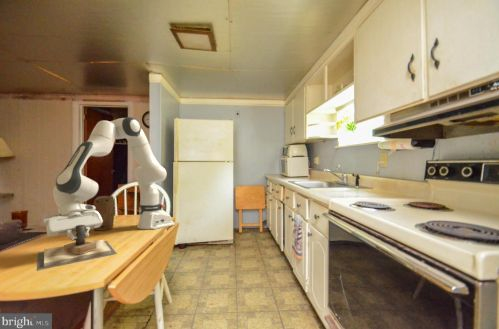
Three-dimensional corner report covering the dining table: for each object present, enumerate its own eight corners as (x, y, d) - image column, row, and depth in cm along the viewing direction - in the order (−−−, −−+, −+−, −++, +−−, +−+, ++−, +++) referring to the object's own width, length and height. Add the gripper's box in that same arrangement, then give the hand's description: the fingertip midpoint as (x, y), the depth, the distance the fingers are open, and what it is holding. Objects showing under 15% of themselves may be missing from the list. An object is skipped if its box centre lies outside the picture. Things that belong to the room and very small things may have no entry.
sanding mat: (106, 242, 121) (106, 240, 121) (117, 255, 104) (117, 253, 104) (38, 254, 104) (38, 252, 104) (36, 272, 87) (36, 270, 87)
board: (102, 242, 118) (102, 239, 118) (110, 253, 104) (110, 249, 104) (44, 252, 104) (44, 249, 104) (44, 267, 89) (44, 263, 89)
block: (114, 227, 150) (115, 195, 150) (111, 230, 142) (111, 196, 143) (95, 228, 147) (95, 195, 147) (90, 231, 140) (90, 197, 140)
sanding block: (63, 251, 101) (63, 226, 101) (80, 246, 108) (80, 222, 108) (80, 254, 98) (80, 228, 98) (96, 248, 104) (96, 224, 104)
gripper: (44, 212, 98) (52, 240, 93) (98, 205, 115) (108, 228, 109) (40, 221, 101) (48, 249, 95) (94, 213, 117) (103, 236, 112)
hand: (81, 238), depth 102 cm, fingers closed on sanding block, 3 cm apart
